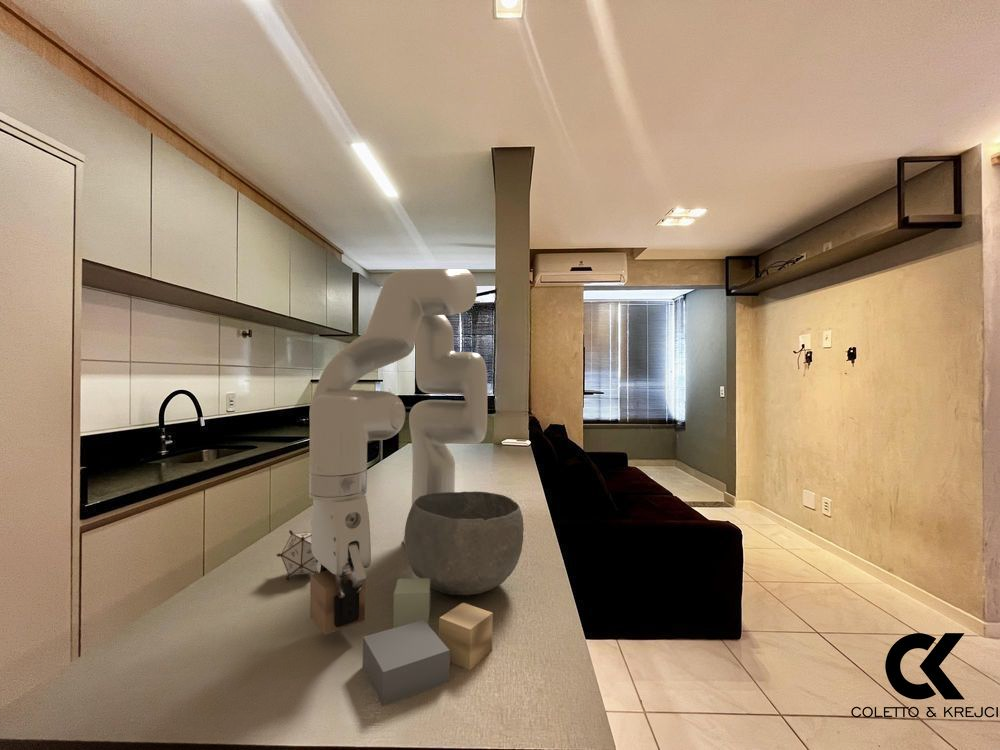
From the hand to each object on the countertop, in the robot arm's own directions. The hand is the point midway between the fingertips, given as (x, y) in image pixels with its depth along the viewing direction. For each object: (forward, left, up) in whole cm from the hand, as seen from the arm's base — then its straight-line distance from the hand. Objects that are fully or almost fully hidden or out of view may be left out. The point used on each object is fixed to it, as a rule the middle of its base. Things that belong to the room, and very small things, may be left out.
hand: (337, 612), depth 62 cm
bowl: (-23, -1, -4) cm, 23 cm away
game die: (-3, -23, -4) cm, 24 cm away
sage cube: (-11, +2, -3) cm, 11 cm away
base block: (-3, +13, -4) cm, 14 cm away
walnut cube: (0, 0, -1) cm, 1 cm away
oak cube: (-11, +15, -3) cm, 19 cm away
